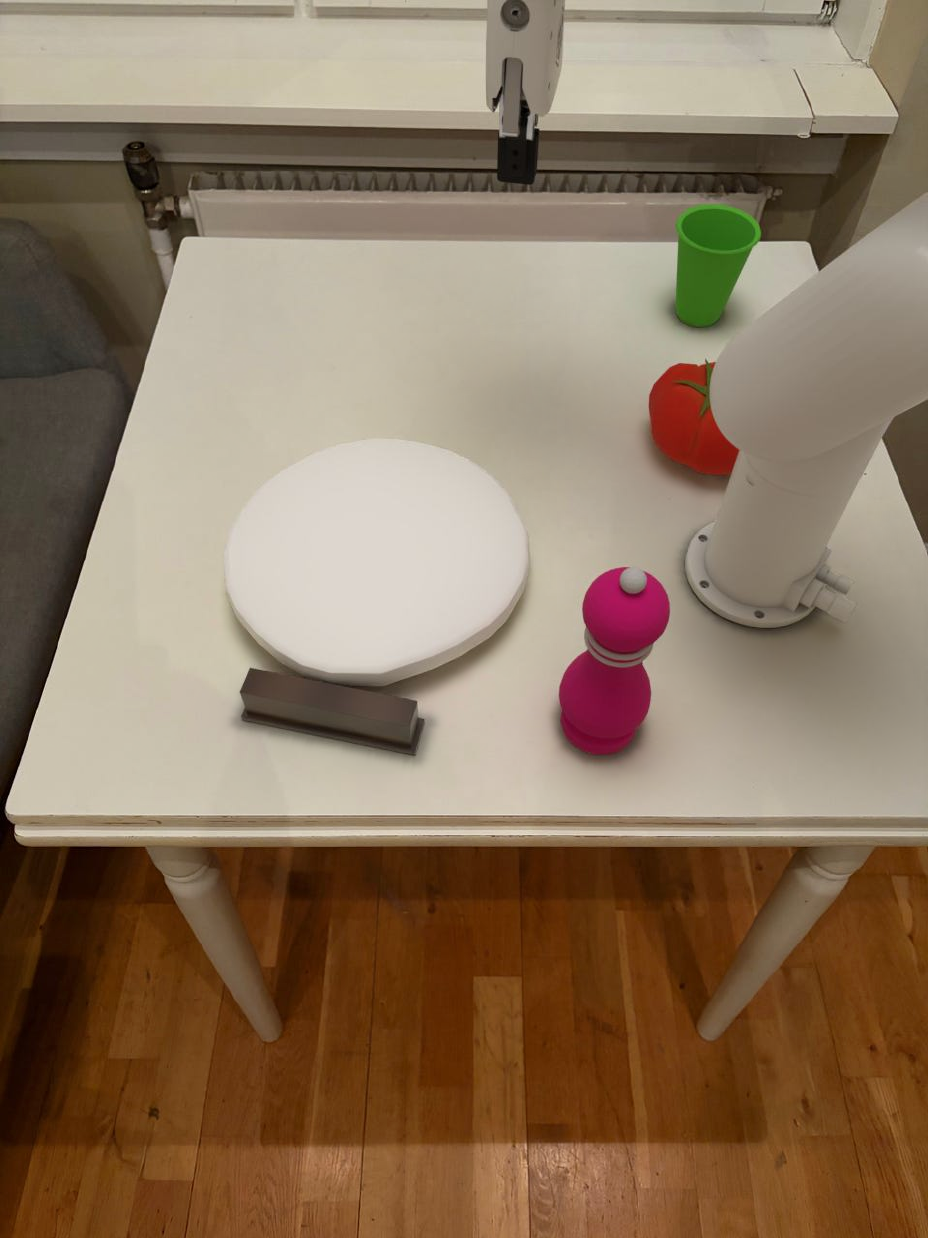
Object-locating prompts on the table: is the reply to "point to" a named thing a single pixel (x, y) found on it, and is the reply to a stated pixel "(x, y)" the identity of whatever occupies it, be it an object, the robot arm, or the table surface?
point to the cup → (711, 259)
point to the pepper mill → (613, 660)
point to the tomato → (689, 420)
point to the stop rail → (331, 711)
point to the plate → (376, 561)
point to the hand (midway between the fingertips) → (516, 177)
